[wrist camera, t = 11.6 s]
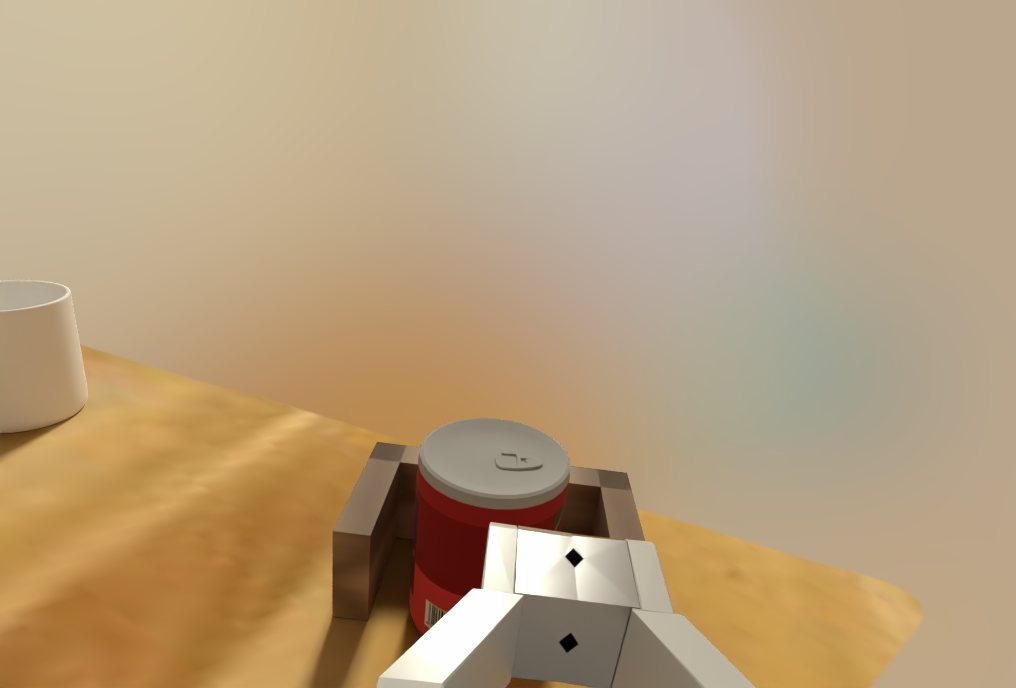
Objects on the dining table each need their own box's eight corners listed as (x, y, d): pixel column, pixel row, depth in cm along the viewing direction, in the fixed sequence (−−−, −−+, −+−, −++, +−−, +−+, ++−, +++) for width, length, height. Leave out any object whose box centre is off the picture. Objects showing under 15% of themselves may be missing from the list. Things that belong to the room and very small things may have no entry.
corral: (332, 616, 32) (332, 530, 30) (374, 514, 40) (377, 442, 38) (631, 653, 32) (652, 570, 30) (610, 543, 40) (626, 472, 38)
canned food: (562, 655, 31) (596, 490, 27) (419, 683, 29) (433, 506, 25) (519, 557, 38) (541, 413, 34) (400, 573, 36) (408, 420, 32)
